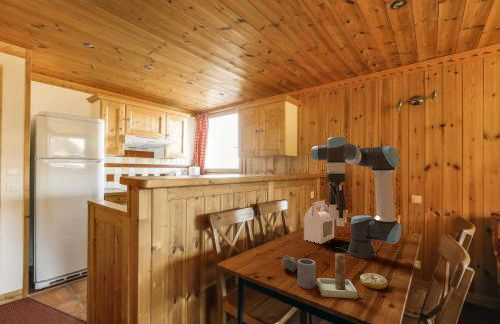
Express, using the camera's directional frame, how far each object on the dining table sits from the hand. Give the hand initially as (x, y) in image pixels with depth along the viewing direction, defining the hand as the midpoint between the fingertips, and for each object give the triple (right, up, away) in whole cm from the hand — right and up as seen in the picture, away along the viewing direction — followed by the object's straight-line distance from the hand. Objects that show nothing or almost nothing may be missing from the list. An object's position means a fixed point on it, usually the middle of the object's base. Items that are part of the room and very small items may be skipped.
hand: (336, 222), depth 104 cm
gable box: (+14, -31, +76) cm, 83 cm away
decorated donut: (+18, -29, +5) cm, 35 cm away
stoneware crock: (-12, -29, +4) cm, 31 cm away
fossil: (-16, -29, +19) cm, 38 cm away
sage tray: (0, -29, -1) cm, 29 cm away
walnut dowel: (0, -28, -1) cm, 28 cm away
